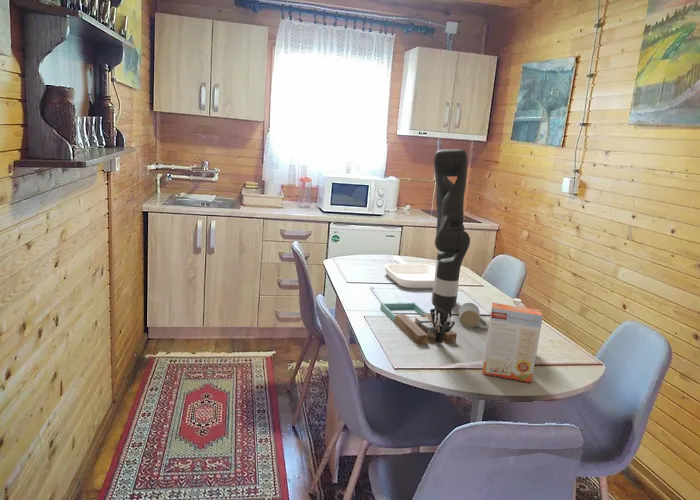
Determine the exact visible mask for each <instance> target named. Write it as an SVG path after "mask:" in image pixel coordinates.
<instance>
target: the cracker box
mask: <svg viewBox="0 0 700 500" xmlns="http://www.w3.org/2000/svg"><path fill="white" fill-rule="evenodd" d="M543 317H544V315H543V312H542V310H541V309H536V308H530V307H526V308H524V307H517V306H513V305H509V304H504V303H498V302H492V304H491V310H490V317H489V324H488V330H487V338H486V342H485V343H486V344H485V351H484V355H483V356H484V357H483V363H482V364H483V365H482V375H485V374H487V375H486V376H490V375H494V376H493V377H496V376H499V377H498V378H501V377H504V378H503V379H507V378H510V379H509V380H512V379H515V380H514V381H518V380H520V381H519V382H523V381H525V382H524V383H528V382H530V383H529V384H531V383H532V381H533V375H534V369H535V363H536V357H537V352H538V346H539V341H540V335H541V330H542V323H543Z"/></svg>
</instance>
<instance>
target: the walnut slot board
mask: <svg viewBox="0 0 700 500" xmlns="http://www.w3.org/2000/svg"><path fill="white" fill-rule="evenodd" d="M395 315H396V317H395V322H394V323H395V324H396V326H398V328H400V330H402V331H403V332H404V333H405V334H406V335H407V336H408V337H409V338H410V339H411V340H412V341H413V342H414V343H415V344H417V345H429V344H430V345H431V344H432V345H433V344H435V345H436V344H438V343H437V342H436V341H435V338H431V339H428V335H427V334H426V333H425V332H424V331H423V330H422V329H421V328H420V327H418V326H417V325H416V324H415V321H413V320H412V319H411V318H410V317H409V316H407V315H406V314H405V313H403V314H402V313H401V314H397V313H396V314H395ZM421 317H427V318H428V319H429V320H430V321H431V323H432V318H431V313H428V314H423V315H422V316H421ZM457 335H458V333H456V332H455V331H454V330H453V329H451V330H450V331H449V332H448V333H444V338H443V343H442V344H453V343H456V341H457V337H458V336H457Z"/></svg>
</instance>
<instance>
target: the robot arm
mask: <svg viewBox="0 0 700 500" xmlns="http://www.w3.org/2000/svg"><path fill="white" fill-rule="evenodd" d="M433 164H434V165H433V166H434V176H435V183H436V184H435V185H436V193H435V194H436V195H435V199H436V201H435V203H436V217H437V218H436V231H435V232H436V233H435V235H436V236H435V239H434V245H435V248H436V249H437V250H438V251H439V252H438V253H437V255H436V262H435V267H436V268H435V276H434V283H433V288H432V293H431V304H432V305H433V306H434V308H430V311H429V312H430V314H431V318H432V323H433V327H435V330H436V336H435V341H436V342H437V343H436V344H444V343H443V338H444V333H448V332H449V331H450V330H453V327H454V326H455V325H456V322H455V321H453V320H452V310H453V309H455V308H456V306H457V299H458V291H459V280H460V273H461V272H460V271H461V266H462V263H463V261H464V258H465V257H466V254H467V251H468V250H469V247H470V245H471V244H470V243H471V237H470V235H469V233H468V232H467V231H465V225H464V222H465V221H464V220H465V219H464V218H465V217H464V214H465V213H464V200H465V199H464V198H465V192H466V185H467V176H468V155H467V152H466V150H465V149H460V148H455V149H446V148H445V149H440V150H437V151H436V152H435V154H434V160H433ZM452 177H456V180H455V182H454V183H453V182H452V180H450V179H449V178H452Z"/></svg>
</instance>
